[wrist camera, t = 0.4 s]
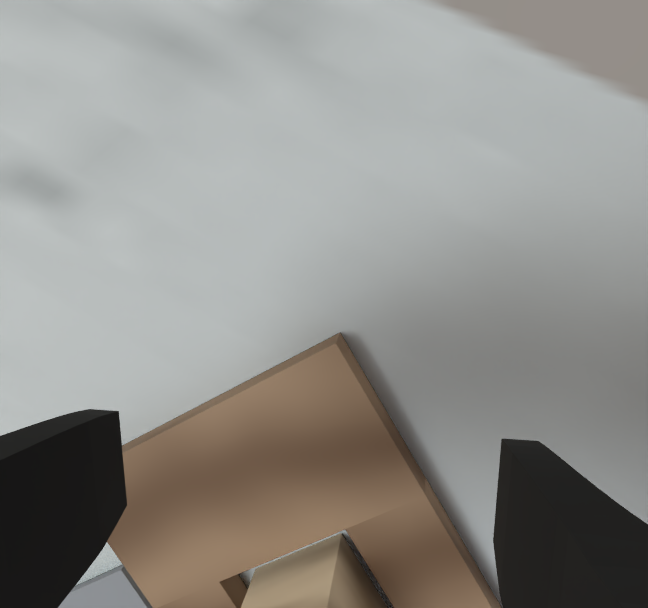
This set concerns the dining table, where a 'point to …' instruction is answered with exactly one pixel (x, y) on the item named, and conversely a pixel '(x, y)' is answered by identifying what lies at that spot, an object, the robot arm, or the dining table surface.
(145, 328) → the dining table surface
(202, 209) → the dining table surface
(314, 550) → the beech block
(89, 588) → the slate rubber mat
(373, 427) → the walnut pocket board
